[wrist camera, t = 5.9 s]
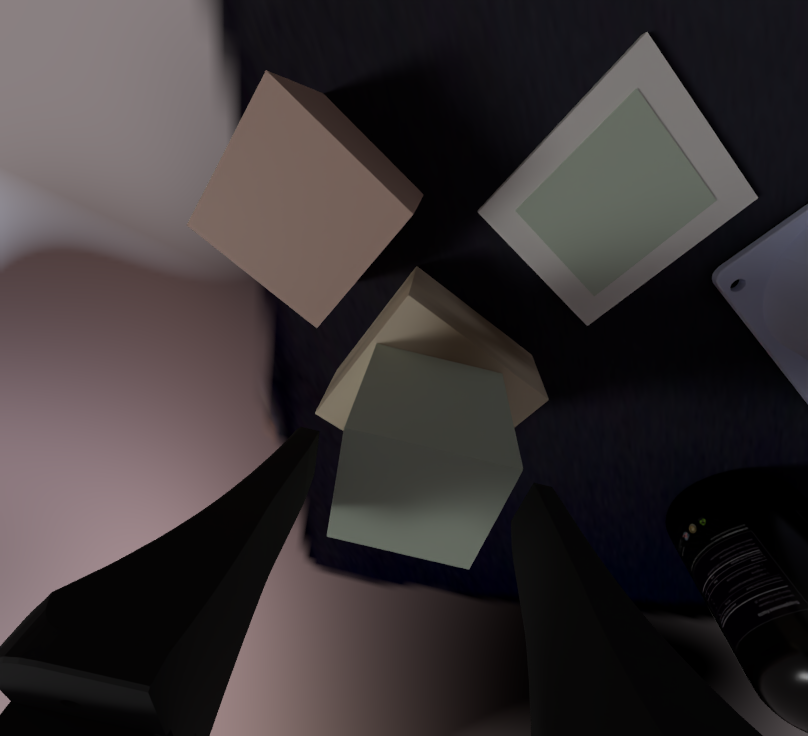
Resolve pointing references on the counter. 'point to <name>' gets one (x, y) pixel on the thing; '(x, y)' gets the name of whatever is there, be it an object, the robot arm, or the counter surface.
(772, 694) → the supplement bottle
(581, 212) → the card
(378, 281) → the counter surface
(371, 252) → the terracotta block
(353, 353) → the maple block
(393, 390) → the sage block
